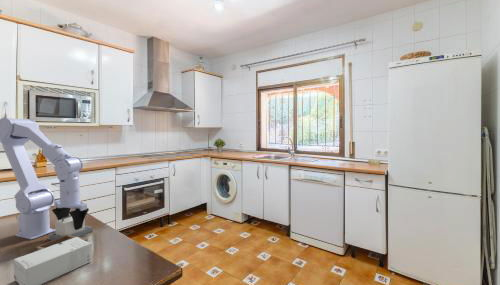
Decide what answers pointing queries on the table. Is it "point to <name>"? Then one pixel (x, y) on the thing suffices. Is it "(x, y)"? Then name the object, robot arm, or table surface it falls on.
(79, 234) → the slate drawer housing
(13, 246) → the table surface
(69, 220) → the white drawer with handle
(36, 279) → the skincare box
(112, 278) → the table surface
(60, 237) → the walnut bay
